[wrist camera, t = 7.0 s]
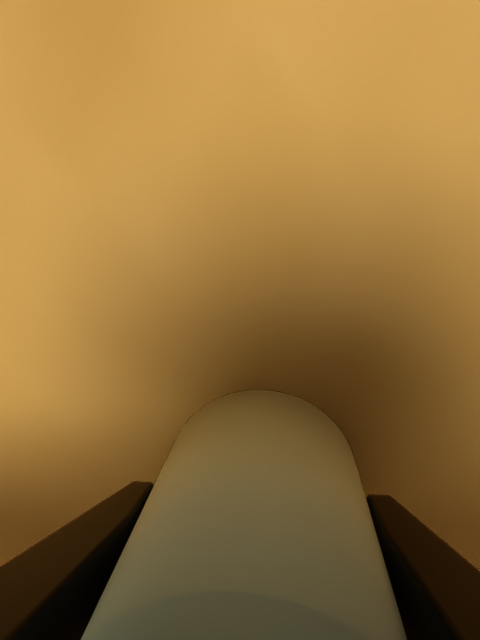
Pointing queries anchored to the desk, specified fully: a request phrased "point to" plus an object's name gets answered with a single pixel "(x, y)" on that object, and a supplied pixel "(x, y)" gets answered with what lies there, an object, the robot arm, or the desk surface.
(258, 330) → the desk surface
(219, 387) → the desk surface
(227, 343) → the desk surface
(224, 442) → the sage part
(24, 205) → the desk surface
